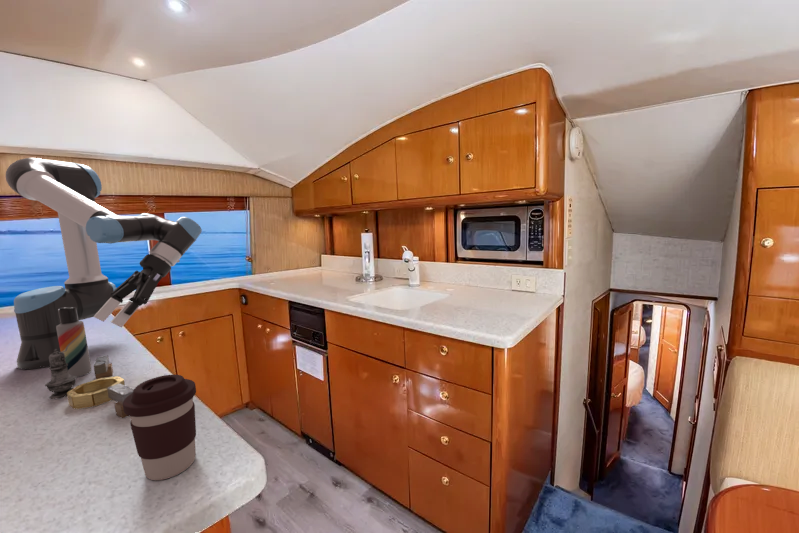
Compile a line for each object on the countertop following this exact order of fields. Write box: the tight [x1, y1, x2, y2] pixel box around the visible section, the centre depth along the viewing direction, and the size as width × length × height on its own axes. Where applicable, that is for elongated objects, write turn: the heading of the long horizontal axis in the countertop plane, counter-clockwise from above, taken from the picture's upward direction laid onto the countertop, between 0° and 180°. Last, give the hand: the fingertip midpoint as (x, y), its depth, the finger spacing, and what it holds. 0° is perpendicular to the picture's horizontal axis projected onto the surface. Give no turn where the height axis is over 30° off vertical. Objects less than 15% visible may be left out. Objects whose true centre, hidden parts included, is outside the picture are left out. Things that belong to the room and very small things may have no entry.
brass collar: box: [67, 375, 126, 410], centre depth 85 cm, size 10×10×3 cm
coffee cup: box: [123, 374, 197, 481], centre depth 58 cm, size 10×10×15 cm
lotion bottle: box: [56, 307, 92, 378], centre depth 99 cm, size 6×6×20 cm
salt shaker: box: [44, 349, 78, 400], centre depth 87 cm, size 6×6×12 cm
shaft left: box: [93, 354, 114, 380], centre depth 96 cm, size 8×4×5 cm, turn 36°
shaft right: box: [107, 383, 135, 419], centre depth 78 cm, size 8×4×5 cm, turn 60°
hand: (106, 322), depth 95 cm, fingers open, 13 cm apart
